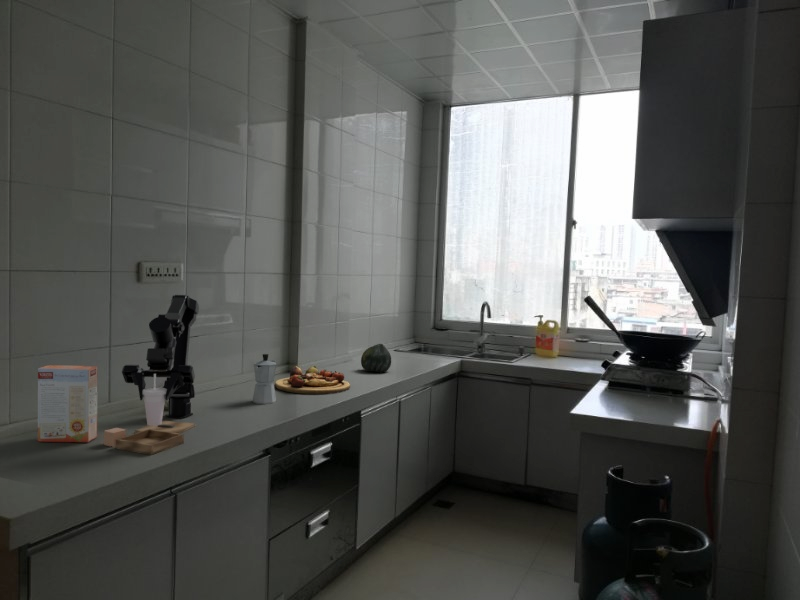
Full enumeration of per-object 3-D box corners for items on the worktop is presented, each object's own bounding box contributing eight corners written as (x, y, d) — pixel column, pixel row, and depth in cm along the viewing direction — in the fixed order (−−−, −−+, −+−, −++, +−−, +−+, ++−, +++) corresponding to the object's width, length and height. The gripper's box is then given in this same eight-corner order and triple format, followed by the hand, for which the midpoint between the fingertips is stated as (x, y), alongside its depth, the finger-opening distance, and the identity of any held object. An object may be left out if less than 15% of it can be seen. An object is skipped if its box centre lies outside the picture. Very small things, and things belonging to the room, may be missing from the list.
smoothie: (165, 420, 173) (165, 371, 172) (168, 425, 168) (169, 375, 167) (140, 422, 170) (141, 372, 169) (143, 428, 164) (143, 376, 164)
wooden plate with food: (311, 399, 237) (313, 378, 236) (258, 386, 256) (259, 366, 256) (365, 389, 262) (366, 370, 262) (313, 378, 282) (314, 361, 281)
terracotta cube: (116, 427, 172) (116, 441, 172) (103, 430, 168) (103, 444, 169) (126, 429, 170) (126, 443, 170) (113, 433, 166) (113, 447, 167)
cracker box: (97, 437, 175) (98, 365, 174) (87, 443, 169) (88, 368, 168) (48, 436, 175) (48, 363, 173) (36, 442, 169) (37, 367, 167)
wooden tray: (115, 448, 165) (115, 439, 165) (149, 437, 177) (149, 428, 177) (151, 455, 161) (151, 445, 161) (183, 443, 172) (183, 434, 172)
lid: (135, 432, 181) (135, 428, 181) (159, 422, 193) (159, 418, 193) (173, 436, 178) (173, 431, 178) (195, 426, 191) (195, 421, 191)
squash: (357, 357, 310) (363, 338, 300) (385, 358, 314) (392, 339, 305) (361, 380, 300) (367, 360, 290) (390, 380, 305) (397, 361, 295)
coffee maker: (268, 406, 221) (269, 357, 220) (245, 404, 223) (246, 355, 222) (284, 397, 236) (285, 351, 235) (263, 396, 237) (264, 350, 236)
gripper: (124, 336, 170) (111, 383, 160) (193, 337, 173) (185, 383, 163) (131, 359, 178) (120, 405, 168) (197, 360, 181) (190, 405, 171)
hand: (153, 399), depth 167 cm, fingers closed on smoothie, 6 cm apart
